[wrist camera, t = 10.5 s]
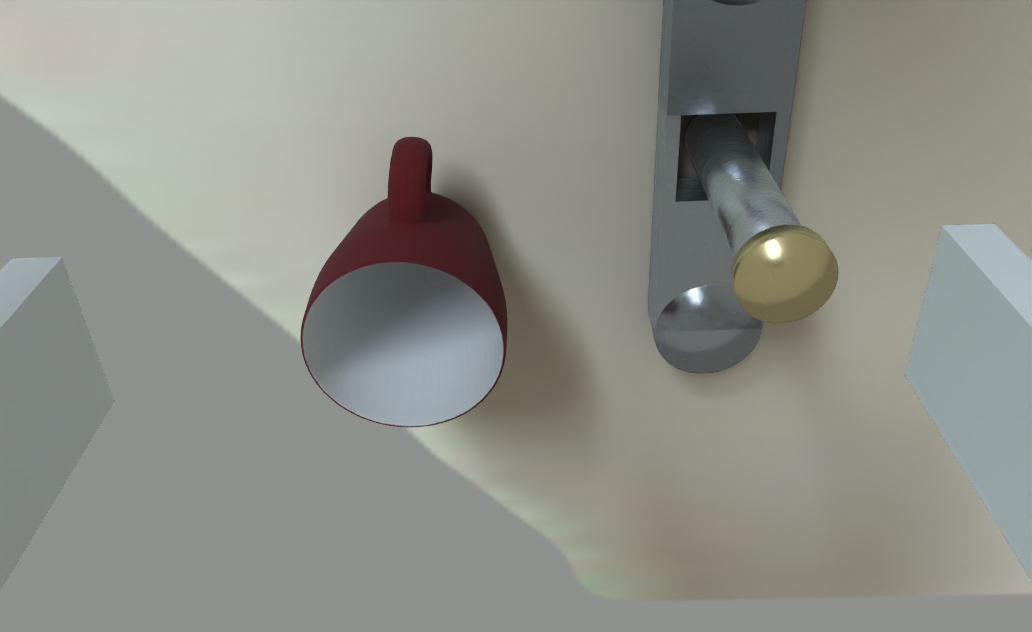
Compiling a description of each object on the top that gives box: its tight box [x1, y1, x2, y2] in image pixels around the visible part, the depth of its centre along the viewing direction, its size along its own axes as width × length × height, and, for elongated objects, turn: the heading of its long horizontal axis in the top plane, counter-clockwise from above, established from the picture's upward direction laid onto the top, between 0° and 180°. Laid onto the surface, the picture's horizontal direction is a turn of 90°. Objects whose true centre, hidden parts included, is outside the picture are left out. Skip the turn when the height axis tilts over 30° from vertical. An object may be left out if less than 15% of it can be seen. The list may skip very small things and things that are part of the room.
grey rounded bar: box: [648, 0, 806, 373], centre depth 39 cm, size 23×5×2 cm, turn 2°
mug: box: [301, 137, 507, 427], centre depth 38 cm, size 11×8×10 cm
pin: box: [685, 113, 838, 323], centre depth 35 cm, size 3×3×13 cm
